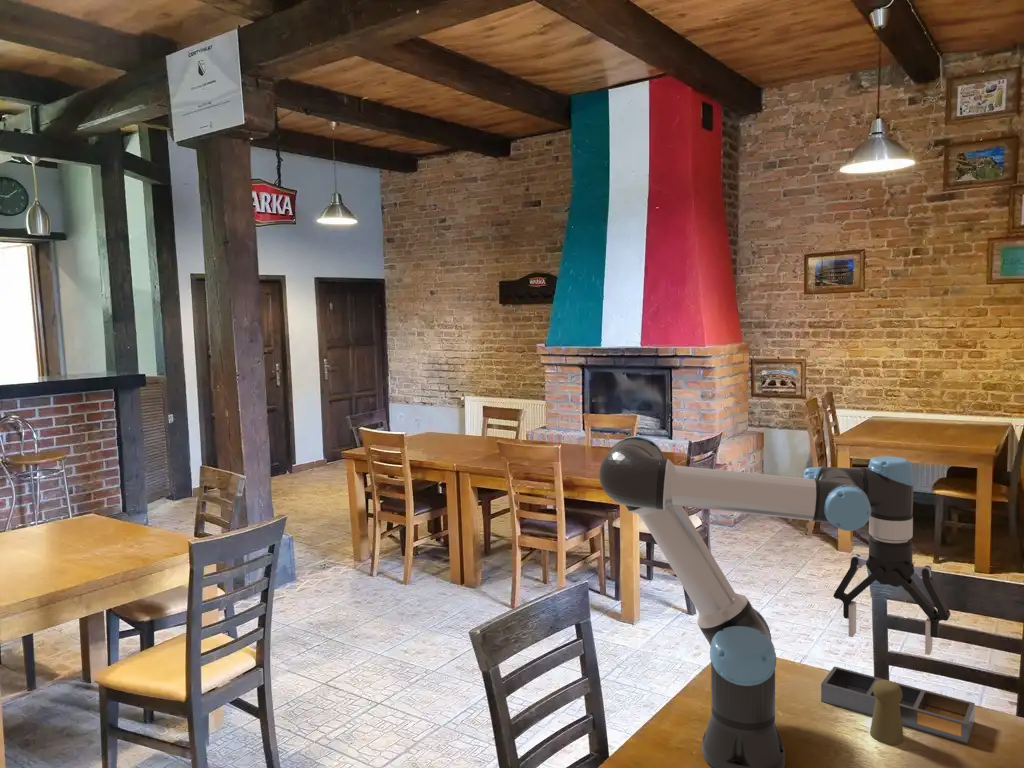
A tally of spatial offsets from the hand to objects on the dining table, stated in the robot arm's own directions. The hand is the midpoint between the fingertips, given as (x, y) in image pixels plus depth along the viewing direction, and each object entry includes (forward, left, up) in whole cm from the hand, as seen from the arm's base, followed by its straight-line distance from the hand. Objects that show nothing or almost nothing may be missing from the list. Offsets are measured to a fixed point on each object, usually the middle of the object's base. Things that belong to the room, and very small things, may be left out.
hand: (889, 643), depth 145 cm
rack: (+9, +6, -19) cm, 22 cm away
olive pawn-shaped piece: (0, 0, -20) cm, 19 cm away
